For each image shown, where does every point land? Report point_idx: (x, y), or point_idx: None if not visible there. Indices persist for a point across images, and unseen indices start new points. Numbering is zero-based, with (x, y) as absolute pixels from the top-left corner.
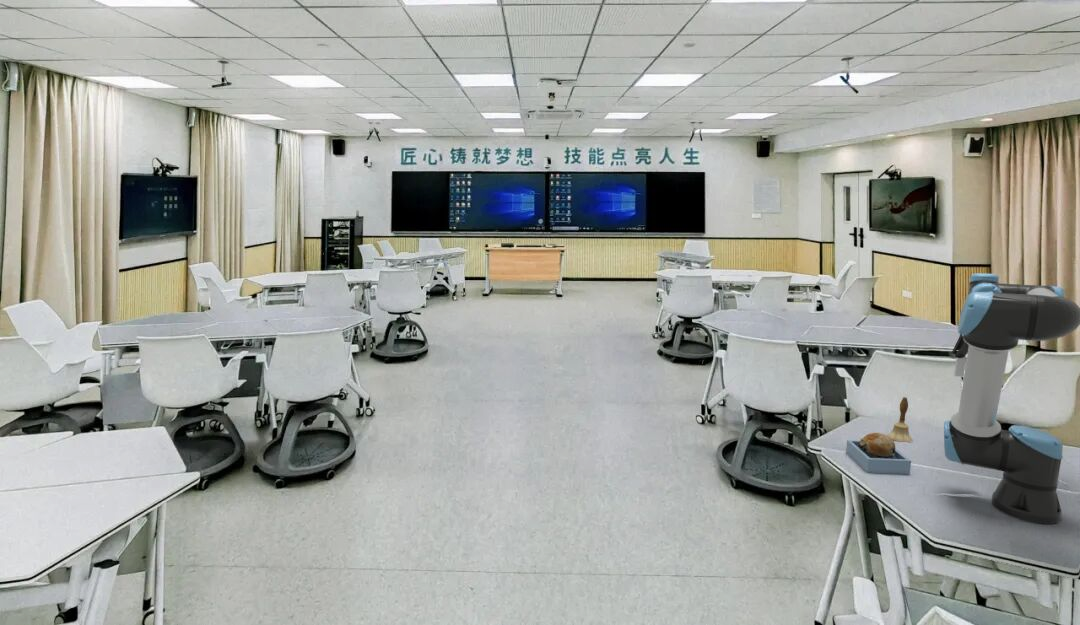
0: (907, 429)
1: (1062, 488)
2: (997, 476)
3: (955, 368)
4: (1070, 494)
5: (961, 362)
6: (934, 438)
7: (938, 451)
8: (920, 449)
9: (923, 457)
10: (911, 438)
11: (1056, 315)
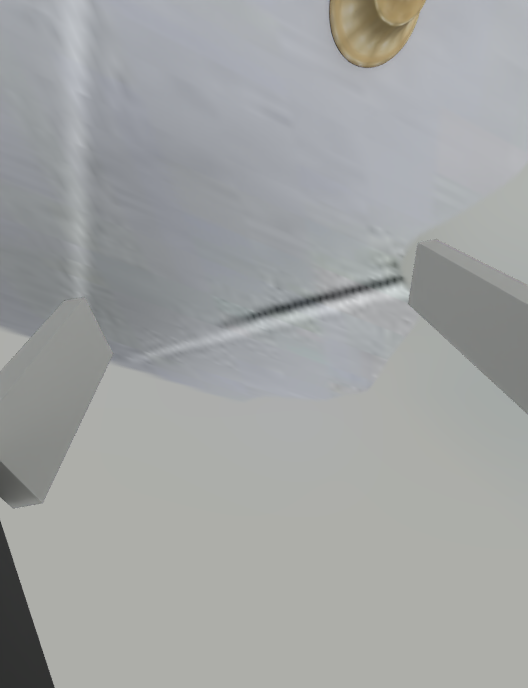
0: (373, 16)
1: None
2: (100, 232)
3: (474, 264)
4: None
5: (502, 345)
6: (377, 169)
7: (259, 127)
8: (264, 54)
9: (178, 24)
10: (356, 54)
11: None
